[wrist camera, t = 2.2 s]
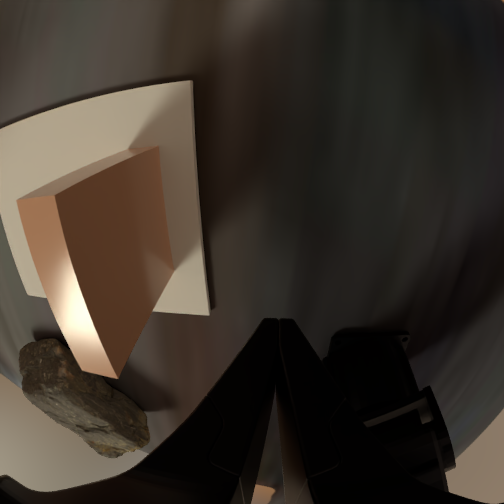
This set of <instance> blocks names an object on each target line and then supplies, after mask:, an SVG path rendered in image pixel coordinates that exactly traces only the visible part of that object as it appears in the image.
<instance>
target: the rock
mask: <svg viewBox="0 0 504 504" xmlns="http://www.w3.org/2000/svg"><path fill="white" fill-rule="evenodd" d="M19 354H20V357H19V367H20V373H21V375H22V376H23V381H22V383H21V384H22V390H23V393H24V395H25V397H26V398H27V399H28V400H29V401H30V402H31V403H32V404H34V405H35V406H36V407H38V408H39V409H41V410H42V411H43V412H44V413H45V414H47V415H48V416H49V417H50V418H52V419H53V420H55V421H56V422H57V423H59V424H61V425H62V426H64V427H66V428H68V429H70V430H71V431H73V432H75V433H76V434H78V435H79V436H80V437H82V438H83V439H84V441H85V442H86V443H88V444H89V445H90V447H91V448H93V449H94V450H95V451H96V452H97V453H98V454H100V455H102V456H105V457H108V458H117V457H118V456H122V455H123V453H125V452H129V451H131V452H134V451H135V450H136V449H139V448H142V447H143V446H145V445H147V444H148V443H149V441H150V433H149V430H148V426H147V416H146V414H145V413H144V412H143V411H142V410H141V409H140V408H139V407H138V406H137V405H136V403H135V402H134V401H133V400H131V399H130V398H128V397H127V396H126V395H124V394H123V393H121V392H119V391H117V390H116V389H114V388H112V387H111V386H109V385H108V384H107V383H106V382H105V380H104V378H103V377H102V376H101V375H98V374H94V373H90V372H86V371H82V369H81V368H80V366H79V364H78V362H77V360H76V359H75V357H74V355H73V353H72V351H70V350H69V349H68V348H67V347H66V346H64V345H63V344H62V343H60V342H59V341H58V340H57V339H53V338H52V339H41V340H39V341H37V342H31V343H28V344H27V345H25V346H24V347H23V348H22V349H21V350H20V353H19Z"/></svg>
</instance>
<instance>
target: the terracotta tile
mask: <svg viewBox="0 0 504 504" xmlns="http://www.w3.org/2000/svg"><path fill="white" fill-rule="evenodd" d="M16 202H17V206H18V210H19V214H20V218H21V222H22V226H23V229H24V233H25V236H26V240H27V243H28V246H29V250H30V253H31V256H32V259H33V262H34V265H35V268H36V270H37V273H38V276H39V279H40V281H41V284H42V287H43V289H44V292H45V294H46V297H47V299H48V302H49V304H50V306H51V309H52V311H53V313H54V316H55V318H56V320H57V322H58V324H59V327H60V329H61V331H62V333H63V335H64V337H65V339H66V341H67V343H68V345H69V347H70V349H71V351H72V353H73V355H74V357H75V359H76V360H77V362H78V364H79V366H80V368H81V369H82V371H86V372H90V373H94V374H98V375H103V376H107V377H111V378H116V379H118V378H119V376H120V374H121V372H122V370H123V368H124V366H125V364H126V362H127V360H128V358H129V356H130V354H131V352H132V350H133V348H134V346H135V344H136V342H137V340H138V338H139V336H140V334H141V332H142V330H143V328H144V326H145V324H146V322H147V321H148V319H149V317H150V315H151V313H152V311H153V309H154V307H155V305H156V304H157V302H158V300H159V298H160V296H161V294H162V293H163V291H164V289H165V287H166V285H167V283H168V282H169V280H170V278H171V276H172V274H173V273H174V267H173V260H172V254H171V248H170V241H169V234H168V227H167V219H166V211H165V203H164V195H163V186H162V177H161V166H160V156H159V146H150V147H141V148H132V149H126V150H124V151H121V152H118V153H116V154H113V155H111V156H108V157H106V158H103V159H101V160H98V161H96V162H94V163H91V164H89V165H87V166H84V167H82V168H80V169H77V170H75V171H73V172H71V173H69V174H66V175H64V176H62V177H60V178H58V179H56V180H54V181H52V182H50V183H48V184H46V185H44V186H42V187H40V188H38V189H36V190H34V191H32V192H30V193H28V194H26V195H25V196H23V197H21V198H19V199H17V200H16Z"/></svg>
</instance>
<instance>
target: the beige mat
mask: <svg viewBox="0 0 504 504" xmlns="http://www.w3.org/2000/svg"><path fill="white" fill-rule="evenodd" d="M150 146H159V156H160V166H161V177H162V186H163V195H164V203H165V211H166V219H167V227H168V234H169V241H170V248H171V254H172V260H173V267H174V273H173V274H172V276H171V278H170V280H169V282H168V283H167V285H166V287H165V289H164V291H163V293H162V294H161V296H160V298H159V300H158V302H157V304H156V305H155V307H154V309H153V311H157V312H169V313H181V314H195V315H210V312H211V310H210V301H209V293H208V284H207V275H206V266H205V256H204V246H203V236H202V225H201V213H200V201H199V189H198V175H197V160H196V143H195V124H194V101H193V81H191V80H189V81H180V82H173V83H165V84H159V85H152V86H146V87H140V88H135V89H130V90H125V91H120V92H115V93H111V94H106V95H102V96H98V97H94V98H90V99H86V100H82V101H79V102H75V103H72V104H68V105H65V106H62V107H58V108H55V109H52V110H49V111H46V112H43V113H40V114H37V115H35V116H32V117H29V118H26V119H24V120H21V121H19V122H16V123H14V124H11V125H9V126H6V127H4V128H2V129H0V214H1V218H2V221H3V225H4V229H5V232H6V235H7V239H8V242H9V245H10V248H11V251H12V254H13V257H14V260H15V263H16V266H17V269H18V271H19V274H20V277H21V279H22V282H23V284H24V287H25V289H26V292H27V294H28V295H31V296H37V297H44V298H47V297H46V294H45V292H44V289H43V287H42V284H41V281H40V279H39V276H38V273H37V270H36V268H35V265H34V262H33V259H32V256H31V253H30V250H29V246H28V243H27V240H26V236H25V233H24V229H23V226H22V222H21V218H20V214H19V210H18V206H17V202H16V200H17V199H19V198H21V197H23V196H25V195H26V194H28V193H30V192H32V191H34V190H36V189H38V188H40V187H42V186H44V185H46V184H48V183H50V182H52V181H54V180H56V179H58V178H60V177H62V176H64V175H66V174H69V173H71V172H73V171H75V170H77V169H80V168H82V167H84V166H87V165H89V164H91V163H94V162H96V161H98V160H101V159H103V158H106V157H108V156H111V155H113V154H116V153H118V152H121V151H124V150H126V149H132V148H141V147H150Z"/></svg>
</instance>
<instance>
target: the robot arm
mask: <svg viewBox="0 0 504 504" xmlns="http://www.w3.org/2000/svg"><path fill="white" fill-rule="evenodd" d="M404 337H405V338H404ZM410 339H411V337H410V334H409V332H406V331H404V332H386V333H363V334H336V335H334V336H333V337H332V338H331V342H330V346H329V351H328V355H327V357H325V358H324V359H323V360H322V361H321V360H320V358H319V357H318V355H317V354H316V352H315V351H314V349H313V348H312V346H311V345H310V343H309V342H308V340H307V339H306V337H305V336H304V334H303V333H302V331H301V330H300V328H299V327H298V325H297V324H296V322H295V321H294V320H293V319H287V318H281V319H279V321H278V319H277V318H264V319H263V320H262V321H261V323H260V324H259V325H258V327H257V328H256V330H255V331H254V332H253V334H252V335H251V336H250V338H249V339H248V341H247V342H246V343H245V345H244V346H243V347H242V349H241V350H240V351H239V353H238V354H237V355H236V357H235V358H234V359H233V361H232V362H231V363H230V365H229V366H228V367H227V369H226V370H225V371H224V373H223V374H222V375H221V377H220V378H219V379H218V381H217V382H216V383H215V385H214V386H213V387H212V388H211V390H210V391H209V392H208V394H207V396H205V397H204V399H203V400H202V401H201V402H200V404H199V405H198V406H197V407H196V409H195V410H194V411H193V412H192V413H191V414H190V415H189V417H188V418H187V419H186V420H185V421H184V422H183V423H182V424H181V425H180V426H179V427H178V428H177V429H176V430H175V431H174V432H173V433H172V434H171V435H170V436H169V437H167V438H166V439H165V440H164V441H163V442H162V443H161V444H160V445H159V446H157V447H156V448H155V449H154V450H153V451H152V452H151V453H150V454H149V455H147V456H146V457H145V458H144V459H143V460H142V461H140V462H139V463H138V464H137V465H135V466H134V467H132V468H131V469H130V470H127V471H126V472H124V473H121V474H119V475H116V476H113V477H110V478H107V479H103V480H100V481H96V482H92V483H89V484H85V485H81V486H77V487H73V488H68V489H63V490H58V491H52V492H39V491H35V490H31V489H28V488H26V487H25V486H23V485H22V484H20V483H19V482H17V481H16V480H14V479H13V478H11V477H10V476H8V475H2V476H0V504H251V501H252V497H253V492H254V488H255V484H256V480H257V476H258V471H259V467H260V462H261V458H262V453H263V449H264V444H265V439H266V434H267V430H268V425H269V420H270V415H271V410H272V405H273V399H274V393H275V384H276V402H277V413H278V423H279V434H280V445H281V457H282V468H283V480H284V491H285V503H286V504H488V503H483V502H479V501H475V500H472V499H468V498H465V497H462V496H459V495H456V494H453V493H450V492H449V491H448V486H447V480H446V475H445V472H447V471H449V470H451V469H454V468H455V467H456V463H455V457H454V452H453V448H452V444H451V440H450V437H449V433H448V430H447V427H446V425H445V422H444V419H443V417H442V414H441V411H440V409H439V406H438V404H437V401H436V399H435V396H434V394H433V392H432V389H431V387H430V385H429V386H427V387H425V388H423V390H422V391H419V389H418V386H417V383H416V380H415V378H414V375H413V372H412V369H411V367H410V364H409V361H408V359H407V356H406V353H405V351H406V349H407V346H408V344H409V341H410ZM337 340H340V341H337ZM499 504H504V503H499Z"/></svg>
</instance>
